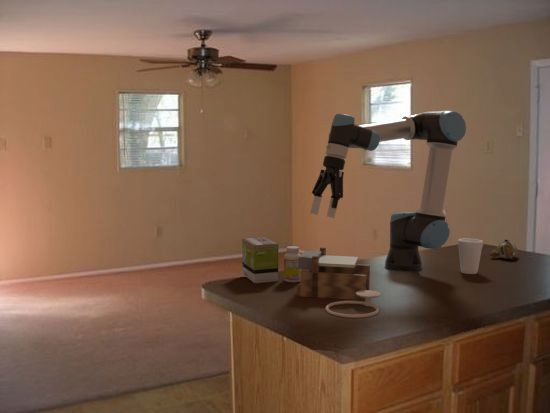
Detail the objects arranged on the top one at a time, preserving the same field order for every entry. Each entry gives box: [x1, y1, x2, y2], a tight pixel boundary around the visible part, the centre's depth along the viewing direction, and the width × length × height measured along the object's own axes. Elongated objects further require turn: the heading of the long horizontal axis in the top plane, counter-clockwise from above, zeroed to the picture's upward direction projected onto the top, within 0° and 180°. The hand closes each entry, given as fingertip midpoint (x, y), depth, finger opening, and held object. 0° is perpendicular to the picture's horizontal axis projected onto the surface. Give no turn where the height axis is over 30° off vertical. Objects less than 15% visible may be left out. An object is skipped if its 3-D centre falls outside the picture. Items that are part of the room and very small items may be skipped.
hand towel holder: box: [324, 289, 382, 319], centre depth 200 cm, size 17×4×20 cm
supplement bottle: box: [283, 245, 303, 283], centre depth 238 cm, size 7×7×13 cm
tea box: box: [241, 236, 279, 284], centre depth 241 cm, size 15×10×15 cm
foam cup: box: [457, 238, 484, 275], centre depth 254 cm, size 10×9×13 cm
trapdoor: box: [298, 250, 359, 270], centre depth 221 cm, size 19×15×4 cm
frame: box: [296, 247, 371, 301], centre depth 221 cm, size 23×18×14 cm
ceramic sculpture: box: [489, 239, 518, 260], centre depth 284 cm, size 11×9×15 cm
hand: (321, 215), depth 225 cm, fingers open, 13 cm apart
